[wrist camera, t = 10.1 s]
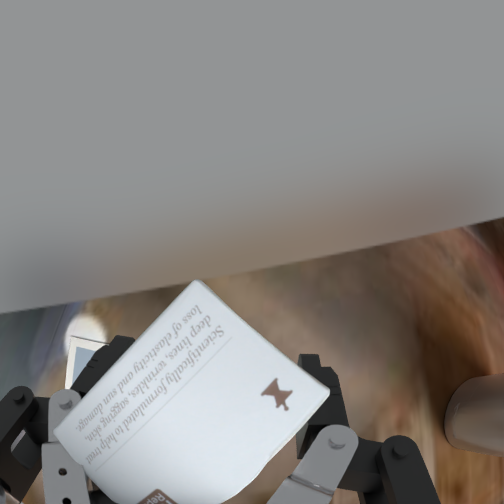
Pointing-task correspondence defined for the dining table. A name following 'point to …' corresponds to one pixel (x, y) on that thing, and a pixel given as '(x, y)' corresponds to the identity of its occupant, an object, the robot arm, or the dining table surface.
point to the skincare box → (189, 408)
